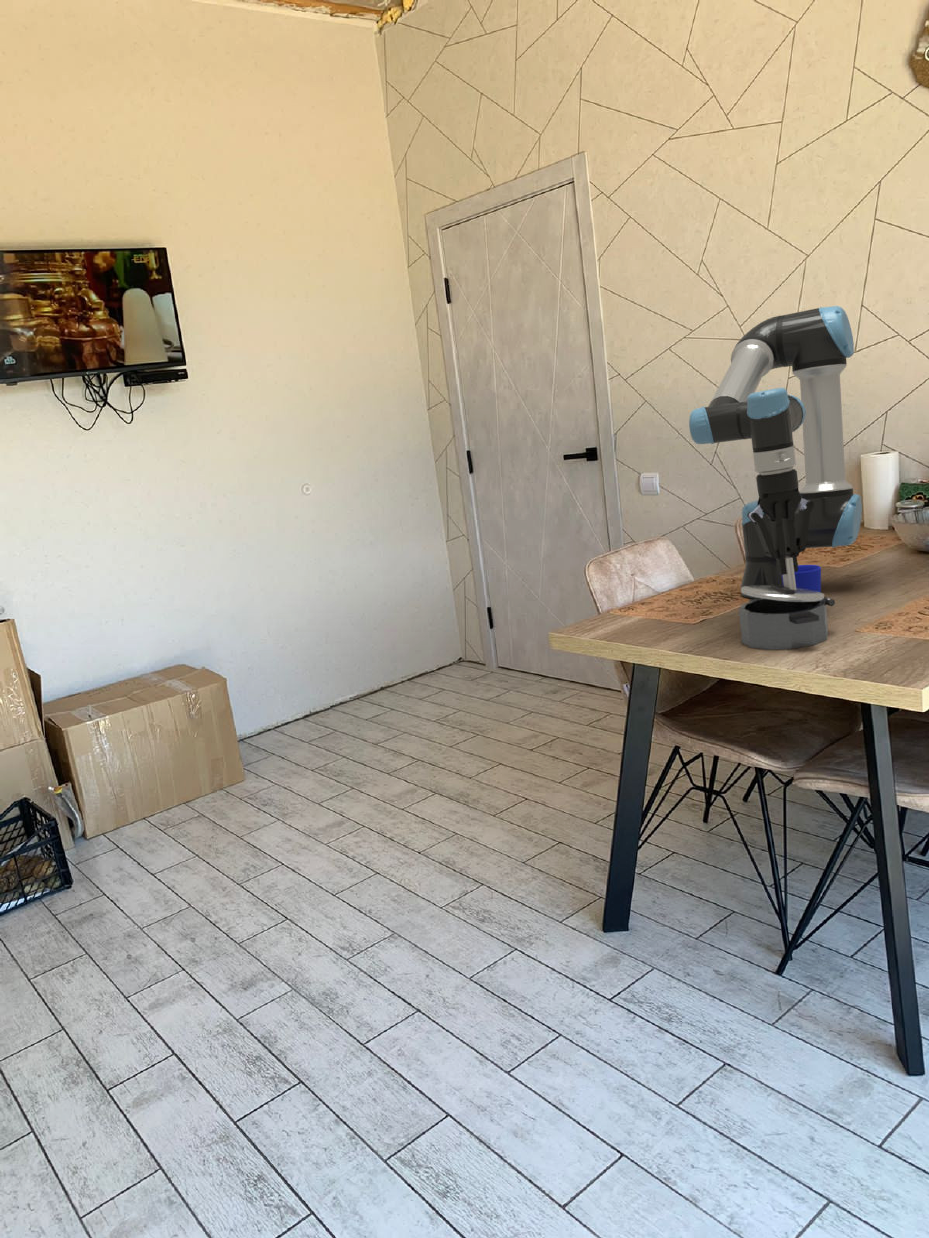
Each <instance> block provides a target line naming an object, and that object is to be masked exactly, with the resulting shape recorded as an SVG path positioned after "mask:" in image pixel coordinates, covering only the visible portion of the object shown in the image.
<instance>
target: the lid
mask: <svg viewBox="0 0 929 1238" xmlns="http://www.w3.org/2000/svg"><path fill="white" fill-rule="evenodd" d="M741 593H742V594H744V595H748V596H751V597H756V598H762V599H769V600H777V601H790V602H817V601H822V600H824V597H825V594H824V593H822V592H821V593H820V592H817V591H813V590H808V589H801V588H796V590H793V589H790V588H787V587H784V586H781V585H771V586H768V585H753V586H744V587H742V588H741V587H740V594H741Z"/></svg>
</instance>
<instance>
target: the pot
mask: <svg viewBox="0 0 929 1238" xmlns="http://www.w3.org/2000/svg"><path fill="white" fill-rule="evenodd" d="M835 604H836V601H835V600H834V599H833V598H829V597H826V596H824V600H822V601H817V602H790V601H777V600H769V599H762V598H756V599H753V598H749V600H748V602H744V603H742V604H741V605H740V607H738V615H739V616H738V617H739V625H740V637H741V644H743V645H745V646H746V647H749V648H752V649H760V650H767V651H771V650H773V651H774V650H794V649H795V650H796V649H801V648H807V647H813V646H815V645H817V644H820V643H823V642H825V641H827V640H828V637H829V630H828V617H827V616H828V615H827V606H830V607H834V605H835Z"/></svg>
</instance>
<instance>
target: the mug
mask: <svg viewBox="0 0 929 1238" xmlns="http://www.w3.org/2000/svg"><path fill="white" fill-rule="evenodd" d="M794 574H795V582H796V588H801V589H808V590H813V591H817V592H820V593H822V592H821V591H822V568H821V566H820V565H817V564H800V565H799V564H798V572H794ZM781 576H782V582H783V575H781ZM783 586H784V582H783Z"/></svg>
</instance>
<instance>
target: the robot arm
mask: <svg viewBox="0 0 929 1238" xmlns="http://www.w3.org/2000/svg"><path fill="white" fill-rule="evenodd" d="M854 347H855V343H854V337H853V331H852V328H851V324H850V320H849V318H848V315H847V313H846V311H845V309H843V307H841V306H839V305H833V306H825V307H823V306H820V307H818V308H813V309H812V308H811V309H808V310H801V311H797V312H794V313H788V314H784V315H777V316H776V315H775V316H773V317H770V318H767V319H766V320H763V321H761V322H760V323H758V324H757V325H755V326H754V327H752V328H751V329H750V330H749V331H748V332H746V333H745V334H744V335H743V336H742V337H741V338H740V339H739V340H738V342H737V343H736V345H735V346H734V348H733V349H732V352H731V354H730V355H731V356H730V364H729V367H728V369H727V371H726V372H725V373H724V374H725V375H724V377H723V379H722V380H721V382H720V384H719V386H718V388H717V390H716V392H715V393H714V396H713V398H712V399H711V401H710V403H709V404H708V406H702V407H698V408H695V409H693V410H692V411H691V412H690V415H689V421H688V427H689V434H690V437H691V440H693V442H694V443H695V444H698V445H707V444H711V445H713V444H719V443H725V442H726V443H727V442H734V441H741V440H748V439H751V447H752V451H753V452H752V455H753V456H752V457H753V463H754V471H755V472H756V473H757V475H756V478H755V480H756V487H757V493H758V499H757V500H754V501H751V502H748V503H746V504H745V505H744V506H743V507H742V509H741V519H742V520H741V526H742V534H743V546H744V555H745V567H744V570H743V576H742V579H741V584H740V589H741V588H742V587H744V586H753V585H768V586H771V585H781V586H783V582H784V587H787V588H790V589H793V590H796V582H795V574H794V572H798V565H799V563H798V557H799V556H800V553H801V552H805V551H806V549H814V548H815V549H817V548H833V549H835V548H836V547H845V546H850V545H853V544H854V543H855V542H856V541H857V538H858V536H859V534H860V533H859V532H860V528H861V522H862V513H863V512H862V511H863V510H862V509H863V506H862V505H863V504H862V497H861V495H859V494H857V493H854V488H853V487H854V486H853V485H852V484H850V483H849V482H848V481H847V480H846V471H845V470H846V469H845V466H846V465H845V453H844V452H845V449H844V431H843V430H844V429H843V412H842V411H843V410H842V409H843V407H842V406H843V405H842V392H841V390H842V388H841V374H842V373H843V371H844V370H845V369H846V368H847V364H848V363H847V358H851V357H853V356H854V353H855V350H854ZM787 367H792V369H791V371H792V375H794V376H795V377H796V378H797V379H798V380H799V382H800V383H799V384H800V387H799V388H800V398H798V397H797V396H794V395H791V394H788V390H787V389H786V388H785V387H777V388H772V389H771V388H770V389H765V390H761V391H757V388H758V387H759V384H760V382H761V380H762V379H763V377H765V376H766V375H768V374H769V372H770V371H771V370H774V369H779V368H780V369H781V368H787ZM801 426H802V435H803V436H802V437H803V457H804V471H805V484H804V486H803V487H802V488H801V489H800V490H799V480H798V471H797V470H796V469H795V468H794V467H796V465H797V464H796V463H797V462H796V461H797V460H796V452H795V445H794V444H795V443H794V438H793V436H794V435H793V432H796V431H797V430H798V429H799V428H800V427H801ZM781 575H783V582H782V576H781ZM740 594H741V596H742V597H744V598H745V599H747V598H748V599H756V597H751V596H748V595H744V594H742V593H741V592H740Z"/></svg>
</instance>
